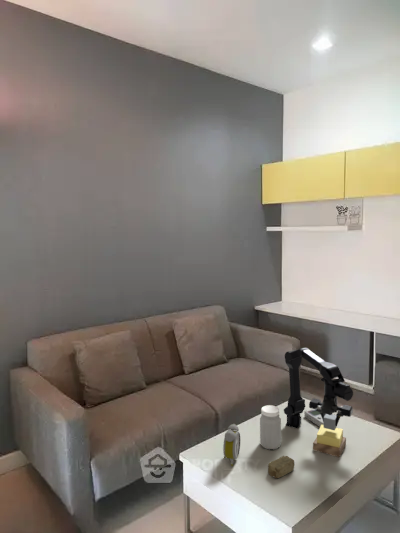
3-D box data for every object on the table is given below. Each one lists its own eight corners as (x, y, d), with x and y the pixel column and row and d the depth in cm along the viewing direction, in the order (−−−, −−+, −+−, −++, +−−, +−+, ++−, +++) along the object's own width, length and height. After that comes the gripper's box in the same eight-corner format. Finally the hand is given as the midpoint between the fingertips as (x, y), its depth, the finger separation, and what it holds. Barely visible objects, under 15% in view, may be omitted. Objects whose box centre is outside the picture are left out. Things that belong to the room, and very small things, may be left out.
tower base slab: (313, 451, 188) (313, 442, 187) (320, 439, 198) (320, 431, 197) (339, 458, 181) (339, 450, 181) (345, 445, 191) (346, 437, 191)
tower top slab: (316, 442, 188) (316, 434, 187) (321, 432, 196) (321, 424, 196) (339, 447, 183) (339, 439, 182) (342, 437, 192) (342, 429, 191)
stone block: (295, 470, 173) (295, 459, 172) (276, 481, 166) (276, 469, 166) (285, 464, 178) (285, 453, 177) (266, 474, 171) (266, 463, 170)
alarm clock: (235, 468, 175) (234, 435, 174) (219, 465, 177) (219, 433, 176) (240, 453, 186) (240, 422, 185) (226, 451, 188) (226, 420, 187)
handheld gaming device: (322, 429, 206) (322, 422, 206) (304, 417, 220) (304, 410, 219) (336, 426, 210) (336, 419, 209) (317, 414, 223) (317, 407, 223)
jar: (284, 443, 194) (284, 407, 192) (275, 453, 186) (275, 415, 184) (266, 437, 200) (265, 402, 198) (256, 446, 192) (256, 410, 190)
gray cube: (323, 427, 188) (323, 417, 187) (326, 423, 192) (326, 413, 192) (334, 430, 185) (334, 420, 185) (337, 425, 190) (337, 415, 189)
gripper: (305, 394, 185) (305, 427, 187) (348, 403, 175) (347, 437, 177) (312, 386, 194) (312, 417, 196) (353, 394, 185) (352, 426, 186)
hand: (330, 424), depth 189 cm, fingers closed on gray cube, 5 cm apart
